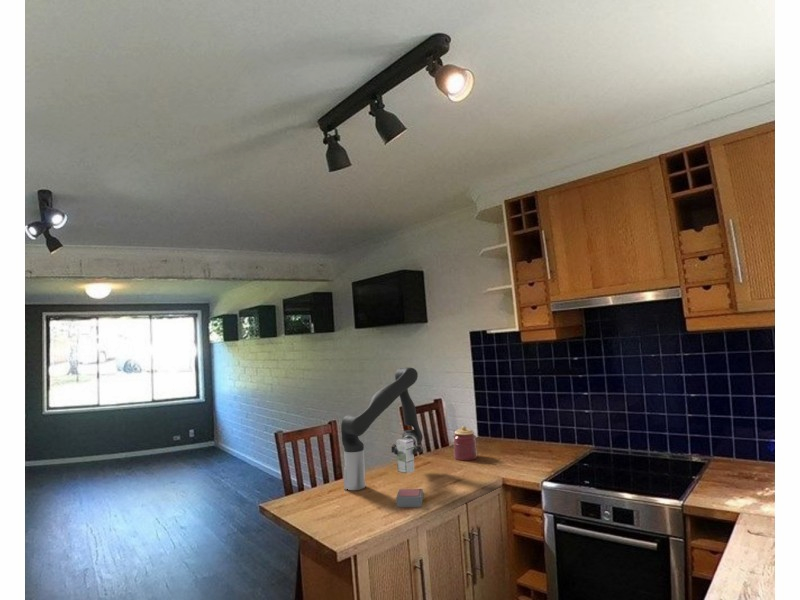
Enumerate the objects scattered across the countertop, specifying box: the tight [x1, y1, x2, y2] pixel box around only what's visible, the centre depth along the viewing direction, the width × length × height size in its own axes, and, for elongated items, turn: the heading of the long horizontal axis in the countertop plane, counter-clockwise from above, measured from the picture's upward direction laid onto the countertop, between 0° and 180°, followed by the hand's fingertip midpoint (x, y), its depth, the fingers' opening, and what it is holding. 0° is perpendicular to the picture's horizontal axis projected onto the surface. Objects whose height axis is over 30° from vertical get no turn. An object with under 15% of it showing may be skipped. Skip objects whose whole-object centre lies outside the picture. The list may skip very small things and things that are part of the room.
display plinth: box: [396, 488, 424, 508], centre depth 192 cm, size 10×10×4 cm
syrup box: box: [396, 437, 415, 475], centre depth 209 cm, size 6×6×14 cm
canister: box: [452, 425, 478, 461], centre depth 257 cm, size 13×13×18 cm
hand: (404, 452), depth 207 cm, fingers closed on syrup box, 7 cm apart
